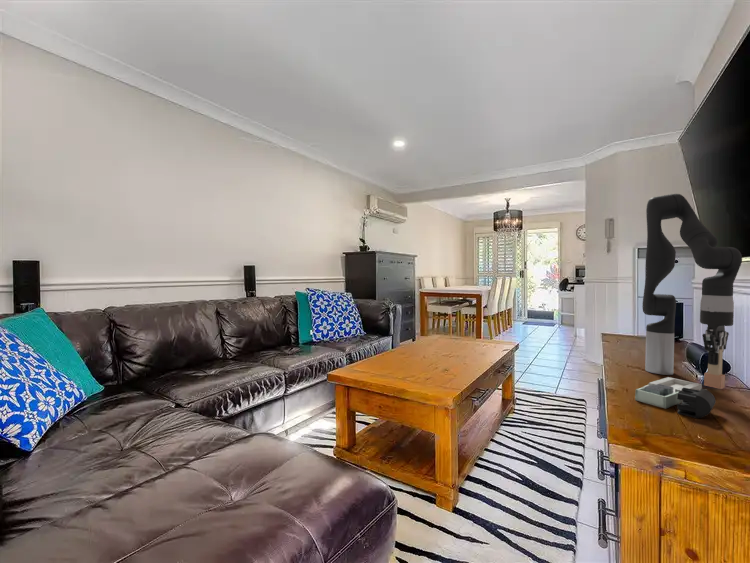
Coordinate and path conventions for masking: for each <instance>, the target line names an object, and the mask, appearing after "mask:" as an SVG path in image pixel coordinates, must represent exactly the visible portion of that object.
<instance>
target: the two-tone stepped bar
mask: <svg viewBox="0 0 750 563" xmlns="http://www.w3.org/2000/svg"><path fill="white" fill-rule="evenodd" d="M723 353H724V351H723V349H719V356H718V365H712V364H709V363H708V362H707V371H706V372H704V374H703V386H705V387H706V386H707V387H710V388H715V389H718V390H722V389H725V388H726V374H723V355H724V354H723Z"/></svg>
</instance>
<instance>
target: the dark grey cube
mask: <svg viewBox="0 0 750 563" xmlns="http://www.w3.org/2000/svg"><path fill="white" fill-rule="evenodd" d="M648 385H649V384H648ZM645 386H646V385H645ZM645 392H649V393H653V394H657V395H661V396H665V388H661V387H657V386H652V385H649V386H646V387H645Z"/></svg>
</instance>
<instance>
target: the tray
mask: <svg viewBox="0 0 750 563" xmlns="http://www.w3.org/2000/svg"><path fill="white" fill-rule="evenodd" d="M644 386H645V387H646V385H644ZM644 386H642V387H640V388H636V389H635V391H634V392H635V394H634V395H635V398H634V400H635V402H636V401H638V402H641V403H644V404H647V405H651V406H654V407H658V408H663V409H668V408H670V407H673V406H675V405H676V406H677V403H679V404H681V403H680V400H679V399H677V396H678V392H679V391H678V392H675V393H672V394H670V395H667V396H661V395H657V394H653V393H649V392H645V387H644ZM652 386H653V385H652Z"/></svg>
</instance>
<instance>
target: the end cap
mask: <svg viewBox="0 0 750 563" xmlns="http://www.w3.org/2000/svg"><path fill="white" fill-rule="evenodd" d="M705 389H706V388H705ZM705 389H704V388H702V389H701V390H700V391H699V390H694V389H689V388H682V391H679V392H678V396H677V399H679V400H683V402H682V403H677V404H676V407H677V408H676V409H677V411H676V412H677V414H678V415H680V416H685V417H690V418H694V419H702V418H704V417H706V416H709V414H710V413H711V411H712V410H713V408H714V407H715V405H716V398H715V395H713V393H712V392H711V391H709V390H708V389H706V390H705Z"/></svg>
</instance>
